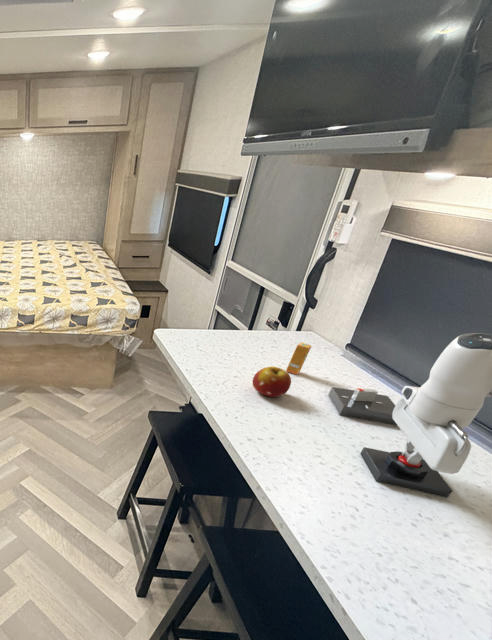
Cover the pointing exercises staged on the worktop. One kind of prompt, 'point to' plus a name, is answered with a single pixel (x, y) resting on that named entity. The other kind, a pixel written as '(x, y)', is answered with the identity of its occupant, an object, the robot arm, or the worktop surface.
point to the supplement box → (298, 358)
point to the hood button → (407, 462)
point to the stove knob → (364, 395)
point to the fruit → (272, 381)
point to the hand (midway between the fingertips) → (409, 460)
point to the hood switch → (404, 473)
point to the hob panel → (363, 406)
